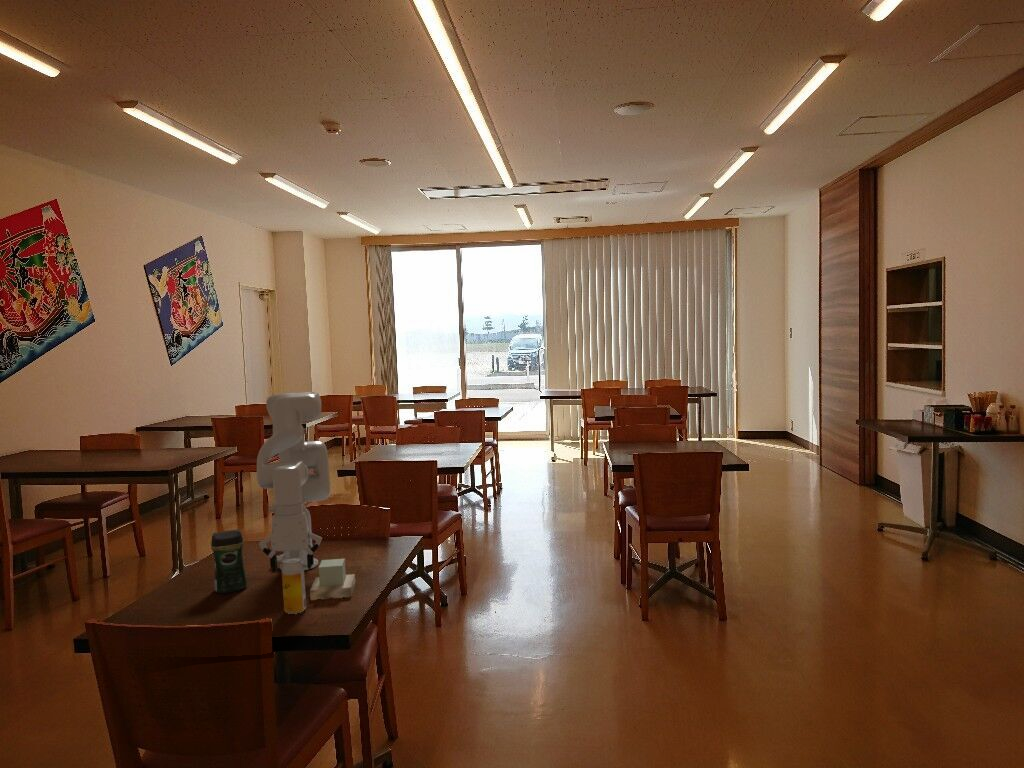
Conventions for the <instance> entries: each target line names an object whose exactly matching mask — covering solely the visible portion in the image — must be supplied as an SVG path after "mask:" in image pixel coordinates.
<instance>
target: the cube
mask: <svg viewBox="0 0 1024 768" xmlns="http://www.w3.org/2000/svg"><path fill="white" fill-rule="evenodd" d="M318 565H319V566H318V577H319V582H320V587H325V586H338V585H344V582H345V579H346V575H347V574H346V573H347V571H346V558H333V559H322V560H321V561H320V564H318Z"/></svg>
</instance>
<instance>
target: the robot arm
mask: <svg viewBox="0 0 1024 768" xmlns="http://www.w3.org/2000/svg"><path fill="white" fill-rule="evenodd" d="M265 402H266V403H265V404H266V405H265V406H266V410H267V412H268V415H269V417H270V419H271V421H272V435H271V436H270V437H269V438H267V440H266V441H265V442H264V443H263V444H262V446H261V447H260V449H259V451H258V454H257V458H256V481H257V484H258V486H259V487H260V488H261V489H264V490H271V489H272V490H273V503H274V505H272V506H269V509H268V510H269V512H272V513H274V514H273V515H272V516H271V520H270V521H271V522H270V523H271V524H270V535H269V536H268V537H266V538H264V539H263V540H261V541H260V542H258V546H259V548H261V549H260V550H262V551H263V553H264V554H265V555H266V556H268V558H269V564H270V569H272V572H273V573H275V572H276V571H277V570H278V564H279V563H280V564H279V569H280V570H281V571H282V569H281V565H282V561H283V560H285V559H287V558H293V557H299V558H301V559H302V561H303V563H304V571H309V570H311V569H314V568H316V567H318V565H319V560H318V559H317V558H315V557H314V553H315V552H316V551H317V549H319V547H320V544H321V542H322V540H323V537H322V536H320V535H317V534H315V533H313V532H312V517H311V513H310V511H309V509H308V508H307V507H306V506H305V505H304V504H303V503H309V502H319V501H320V502H321V501H325V500H327V499H329V497H330V495H331V477H330V463H329V462H330V461H329V452H328V449H327V448H328V447H327V446H326V444H325V443H324V442H323V441H319V440H312V441H306V440H305V433H304V429H305V428H304V426H303V425H302V422H305V421H306V422H308V421H317V420H319V419H320V417H321V415H322V409H323V408H322V398H321V396H320V394H319V393H318V392H316V391H304V392H287V393H285V392H284V393H276V394H275V393H274V394H273V395H270V396H268V397H267V399H266V401H265ZM276 455H278V458H279V461H278V462H277V461H275V462H269V461H270V460H271V458H273V457H274V456H276ZM309 470H313V471H315V472H311V473H309ZM313 540H314V541H315V543H314V545H313ZM268 543H270V547H271V549H270V548H269V547H268V546H267V544H268ZM277 552H278V553H279V552H280V553H281V552H283V554H280V555H277V554H276V553H277Z"/></svg>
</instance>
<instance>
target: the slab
mask: <svg viewBox="0 0 1024 768" xmlns="http://www.w3.org/2000/svg"><path fill="white" fill-rule="evenodd" d="M355 587H356V574H355V573H352V574H346V579H345V582H344V585H338V586H325V587H320V582H319V576H316V577H315V578H314V581H313V583H312V585H311V587H310V589H309V595H310V596H309V598H310V601H317V599H321V600H330V599H329V598H333V599H343V597H345V598H352V597H353V593H354V590H355Z"/></svg>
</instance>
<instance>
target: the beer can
mask: <svg viewBox="0 0 1024 768" xmlns="http://www.w3.org/2000/svg"><path fill="white" fill-rule="evenodd" d="M281 569H282V570H281ZM281 569H280V570H281V579H282V580H281V581H282V582H281V583H282V597H283V611H284V612H285V613H286V614H287V613H288V614H287V615H289V614H295V615H298V614H297V613H300V614H302V613H304V612H305V611H304V610H306V608H307V597H306V596H307V595H306V582H305V570H304V563H303V561H302V559H301V558H299V557H293V558H287V559H285V560H283V561H282V565H281ZM303 611H304V612H303ZM301 612H302V613H301Z"/></svg>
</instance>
